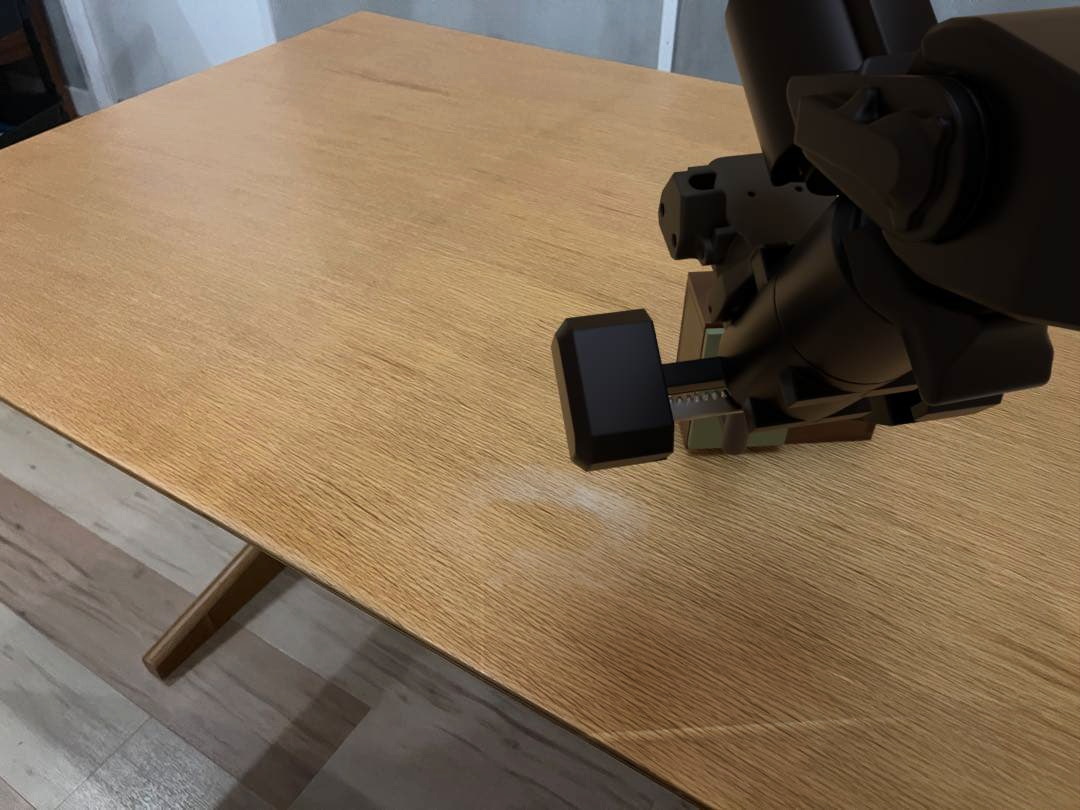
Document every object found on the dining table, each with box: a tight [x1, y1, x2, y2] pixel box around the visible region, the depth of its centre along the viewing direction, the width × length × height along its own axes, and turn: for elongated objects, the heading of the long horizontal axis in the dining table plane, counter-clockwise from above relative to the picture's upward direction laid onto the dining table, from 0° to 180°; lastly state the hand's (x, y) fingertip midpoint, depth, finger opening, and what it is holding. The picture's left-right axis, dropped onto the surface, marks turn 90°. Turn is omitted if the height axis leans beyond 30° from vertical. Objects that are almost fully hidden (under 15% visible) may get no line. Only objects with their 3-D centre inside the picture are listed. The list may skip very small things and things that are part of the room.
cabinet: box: [671, 270, 877, 449], centre depth 59 cm, size 6×14×12 cm, turn 93°
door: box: [687, 328, 788, 456], centre depth 54 cm, size 6×7×11 cm
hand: (720, 414), depth 43 cm, fingers open, 9 cm apart
